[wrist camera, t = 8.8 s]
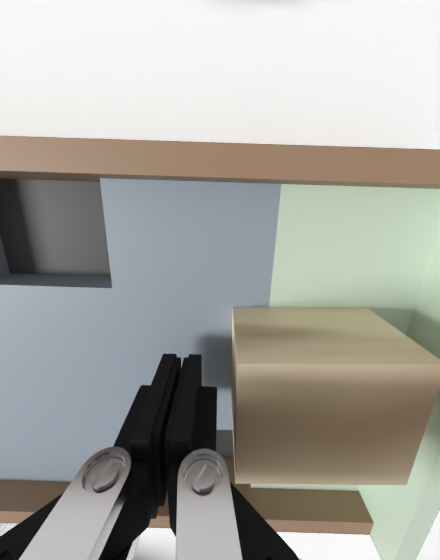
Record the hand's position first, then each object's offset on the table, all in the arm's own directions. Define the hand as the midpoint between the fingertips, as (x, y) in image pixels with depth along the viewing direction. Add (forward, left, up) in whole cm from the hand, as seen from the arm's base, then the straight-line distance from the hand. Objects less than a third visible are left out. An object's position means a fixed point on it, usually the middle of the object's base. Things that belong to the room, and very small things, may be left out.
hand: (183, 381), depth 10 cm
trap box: (0, +2, -3) cm, 4 cm away
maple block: (+1, -5, -1) cm, 5 cm away
